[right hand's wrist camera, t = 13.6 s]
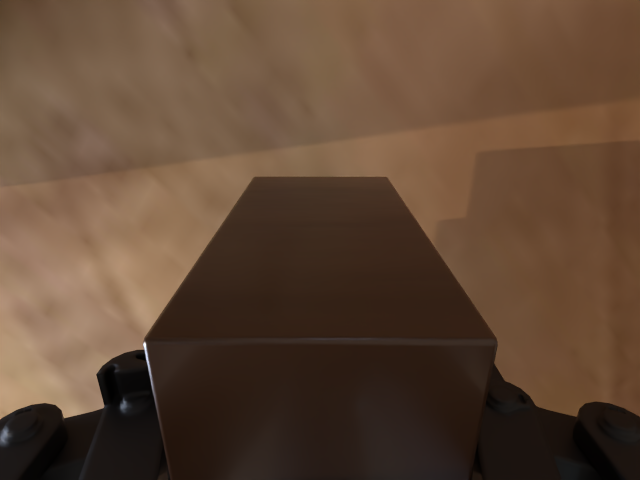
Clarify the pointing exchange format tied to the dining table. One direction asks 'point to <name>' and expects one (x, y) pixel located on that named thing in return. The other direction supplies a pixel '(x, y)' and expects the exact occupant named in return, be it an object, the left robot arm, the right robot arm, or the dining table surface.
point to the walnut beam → (320, 344)
